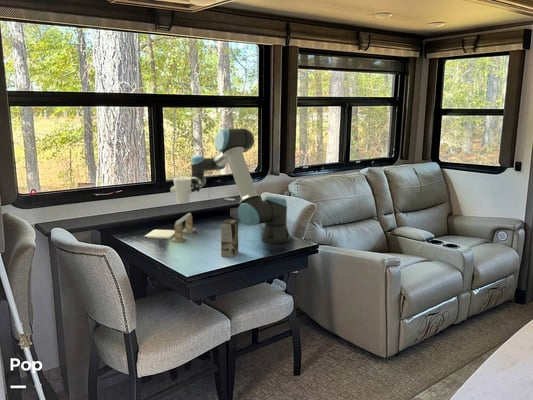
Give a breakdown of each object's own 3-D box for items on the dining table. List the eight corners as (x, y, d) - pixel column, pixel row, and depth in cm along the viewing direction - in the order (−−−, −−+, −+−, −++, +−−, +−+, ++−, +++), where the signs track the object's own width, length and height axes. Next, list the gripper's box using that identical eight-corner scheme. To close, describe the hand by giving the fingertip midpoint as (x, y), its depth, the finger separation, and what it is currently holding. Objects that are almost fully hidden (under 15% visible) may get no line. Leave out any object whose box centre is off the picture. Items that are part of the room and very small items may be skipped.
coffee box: (234, 257, 215) (233, 224, 212) (220, 256, 216) (220, 223, 213) (239, 251, 224) (238, 219, 220) (226, 250, 225) (225, 219, 222)
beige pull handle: (185, 230, 263) (185, 215, 261) (195, 230, 262) (195, 215, 260) (171, 241, 240) (171, 224, 239) (182, 242, 240) (182, 225, 238)
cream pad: (178, 232, 259) (177, 230, 259) (169, 238, 245) (169, 237, 245) (154, 231, 261) (154, 229, 261) (144, 237, 247) (144, 236, 247)
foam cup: (173, 200, 254) (172, 177, 251) (190, 200, 256) (189, 177, 254) (175, 204, 245) (174, 180, 242) (192, 203, 247) (192, 179, 245)
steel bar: (188, 215, 260) (188, 212, 260) (191, 215, 260) (191, 213, 260) (175, 224, 239) (175, 222, 239) (178, 224, 239) (178, 222, 238)
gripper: (211, 191, 266) (199, 198, 244) (175, 189, 269) (160, 197, 247) (211, 178, 264) (199, 184, 242) (174, 177, 267) (160, 183, 246)
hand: (179, 191), depth 245 cm, fingers closed on foam cup, 9 cm apart
